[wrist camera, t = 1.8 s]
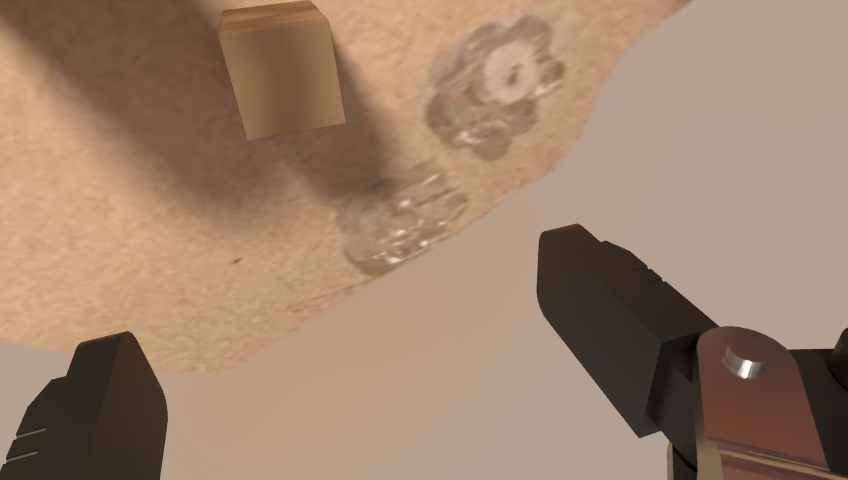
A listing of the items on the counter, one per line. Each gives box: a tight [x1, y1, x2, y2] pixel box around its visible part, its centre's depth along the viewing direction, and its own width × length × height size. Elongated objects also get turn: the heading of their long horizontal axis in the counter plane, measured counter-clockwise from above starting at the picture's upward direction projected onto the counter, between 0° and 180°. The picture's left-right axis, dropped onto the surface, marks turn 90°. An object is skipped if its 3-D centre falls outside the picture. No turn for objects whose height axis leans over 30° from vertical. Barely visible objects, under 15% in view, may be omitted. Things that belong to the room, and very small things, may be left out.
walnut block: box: [218, 0, 346, 141], centre depth 28 cm, size 5×5×8 cm
